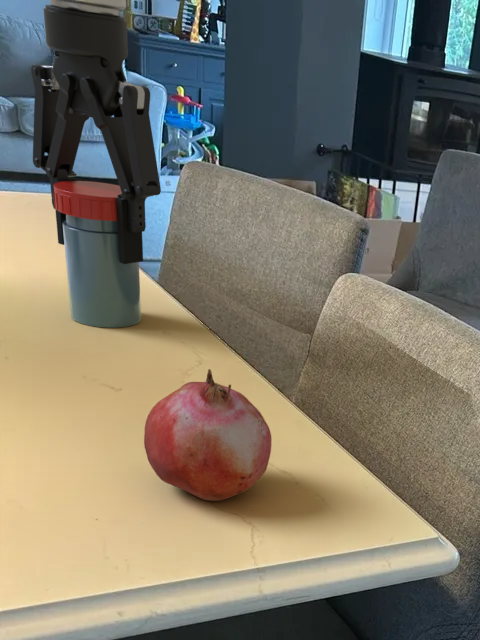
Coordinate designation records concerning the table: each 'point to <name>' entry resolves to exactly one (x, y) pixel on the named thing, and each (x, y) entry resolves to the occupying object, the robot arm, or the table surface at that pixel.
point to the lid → (87, 199)
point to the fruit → (207, 440)
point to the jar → (99, 275)
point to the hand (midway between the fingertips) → (100, 252)
